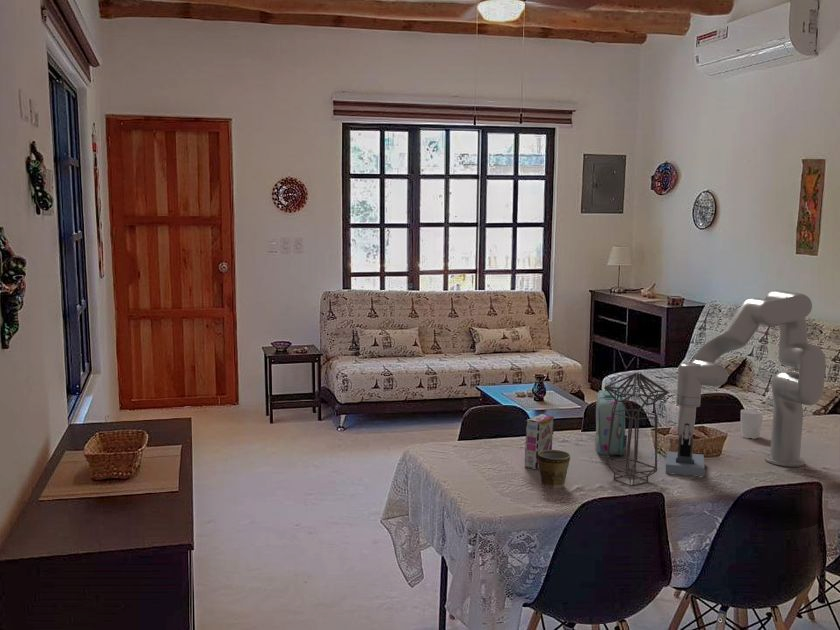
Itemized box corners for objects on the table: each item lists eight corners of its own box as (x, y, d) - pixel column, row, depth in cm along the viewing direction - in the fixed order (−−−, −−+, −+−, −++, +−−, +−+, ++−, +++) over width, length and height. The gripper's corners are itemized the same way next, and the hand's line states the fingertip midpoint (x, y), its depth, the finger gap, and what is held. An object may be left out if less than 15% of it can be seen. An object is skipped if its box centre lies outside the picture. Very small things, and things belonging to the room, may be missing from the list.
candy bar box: (537, 470, 269) (539, 422, 267) (524, 467, 272) (525, 419, 270) (552, 462, 278) (554, 415, 276) (539, 459, 281) (540, 413, 279)
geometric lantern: (595, 477, 263) (601, 370, 260) (632, 471, 271) (637, 367, 268) (630, 491, 250) (636, 378, 246) (667, 484, 257) (674, 375, 254)
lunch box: (626, 460, 281) (629, 400, 279) (596, 459, 283) (599, 398, 280) (621, 440, 307) (623, 384, 305) (593, 438, 309) (595, 383, 306)
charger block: (677, 457, 274) (679, 433, 273) (691, 458, 273) (692, 435, 272) (677, 461, 270) (678, 437, 269) (691, 462, 269) (692, 438, 268)
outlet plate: (666, 459, 283) (667, 450, 283) (703, 463, 280) (703, 454, 279) (665, 473, 268) (665, 463, 268) (703, 477, 265) (704, 467, 264)
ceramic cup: (574, 489, 251) (576, 457, 250) (545, 491, 248) (546, 460, 247) (556, 476, 264) (557, 446, 262) (527, 478, 261) (528, 448, 260)
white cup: (735, 434, 318) (736, 409, 317) (754, 433, 319) (756, 408, 318) (745, 439, 311) (747, 414, 309) (765, 439, 311) (766, 413, 310)
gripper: (676, 394, 278) (673, 446, 281) (676, 404, 262) (672, 459, 265) (700, 396, 276) (696, 448, 278) (700, 407, 260) (697, 462, 262)
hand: (684, 453), depth 271 cm, fingers closed on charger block, 4 cm apart
